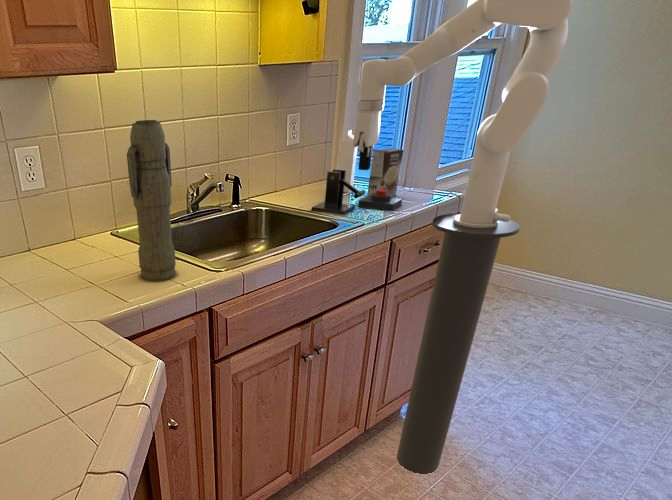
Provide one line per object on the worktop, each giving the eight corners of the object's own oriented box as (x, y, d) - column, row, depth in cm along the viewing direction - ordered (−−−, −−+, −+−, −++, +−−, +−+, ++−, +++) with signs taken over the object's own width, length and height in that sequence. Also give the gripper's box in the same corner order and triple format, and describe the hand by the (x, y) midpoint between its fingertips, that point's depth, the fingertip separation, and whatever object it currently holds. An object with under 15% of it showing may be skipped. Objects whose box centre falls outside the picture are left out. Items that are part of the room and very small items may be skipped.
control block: (401, 205, 175) (403, 193, 173) (392, 210, 169) (394, 198, 167) (367, 201, 182) (369, 190, 180) (358, 207, 176) (359, 195, 174)
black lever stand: (354, 208, 174) (359, 170, 167) (344, 214, 168) (348, 174, 161) (322, 205, 180) (325, 167, 174) (311, 210, 174) (314, 171, 168)
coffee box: (380, 199, 185) (386, 152, 176) (366, 196, 189) (372, 150, 181) (396, 195, 189) (404, 149, 180) (383, 192, 193) (389, 147, 185)
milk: (352, 189, 200) (360, 129, 189) (349, 192, 195) (356, 131, 184) (337, 188, 203) (343, 129, 191) (333, 191, 198) (340, 131, 187)
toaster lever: (362, 196, 169) (366, 190, 167) (355, 200, 165) (359, 194, 163) (334, 175, 172) (338, 169, 170) (327, 178, 168) (331, 172, 166)
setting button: (388, 195, 174) (388, 189, 173) (384, 197, 171) (385, 191, 171) (377, 194, 176) (378, 188, 175) (374, 196, 173) (374, 190, 173)
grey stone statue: (186, 270, 127) (178, 118, 109) (158, 286, 119) (145, 124, 101) (159, 265, 132) (147, 118, 114) (129, 279, 123) (112, 123, 106)
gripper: (367, 104, 160) (361, 165, 169) (349, 108, 150) (343, 173, 159) (391, 104, 156) (383, 166, 165) (373, 108, 146) (366, 174, 155)
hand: (364, 169), depth 162 cm, fingers closed
